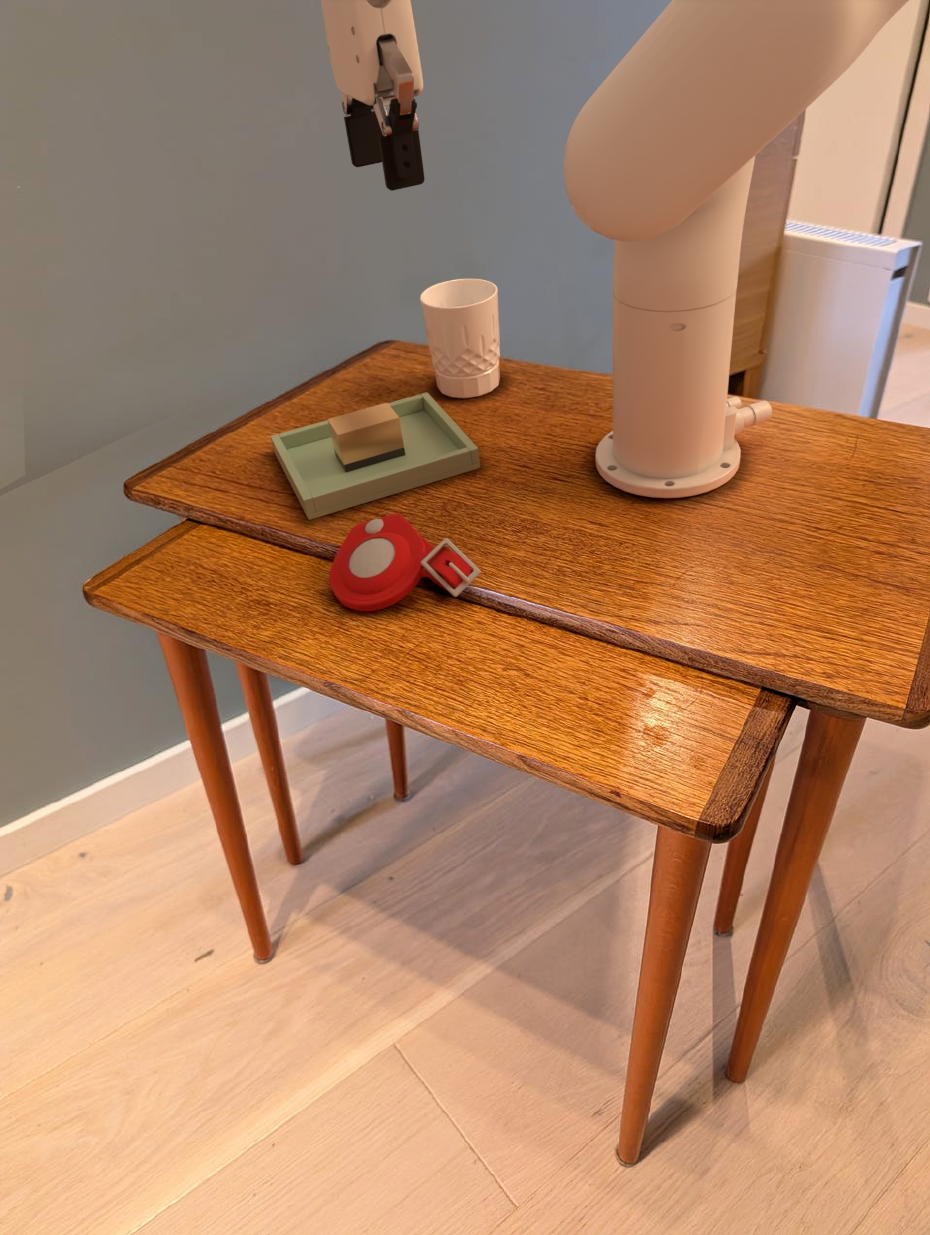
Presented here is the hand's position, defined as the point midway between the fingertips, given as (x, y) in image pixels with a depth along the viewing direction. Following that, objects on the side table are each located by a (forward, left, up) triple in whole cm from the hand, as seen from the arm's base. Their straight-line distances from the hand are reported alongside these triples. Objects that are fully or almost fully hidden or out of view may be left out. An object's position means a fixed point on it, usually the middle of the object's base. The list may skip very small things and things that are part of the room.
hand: (387, 174), depth 77 cm
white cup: (-7, -5, -24) cm, 25 cm away
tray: (+7, +5, -23) cm, 25 cm away
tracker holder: (+11, +25, -24) cm, 36 cm away
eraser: (+7, +5, -23) cm, 24 cm away
